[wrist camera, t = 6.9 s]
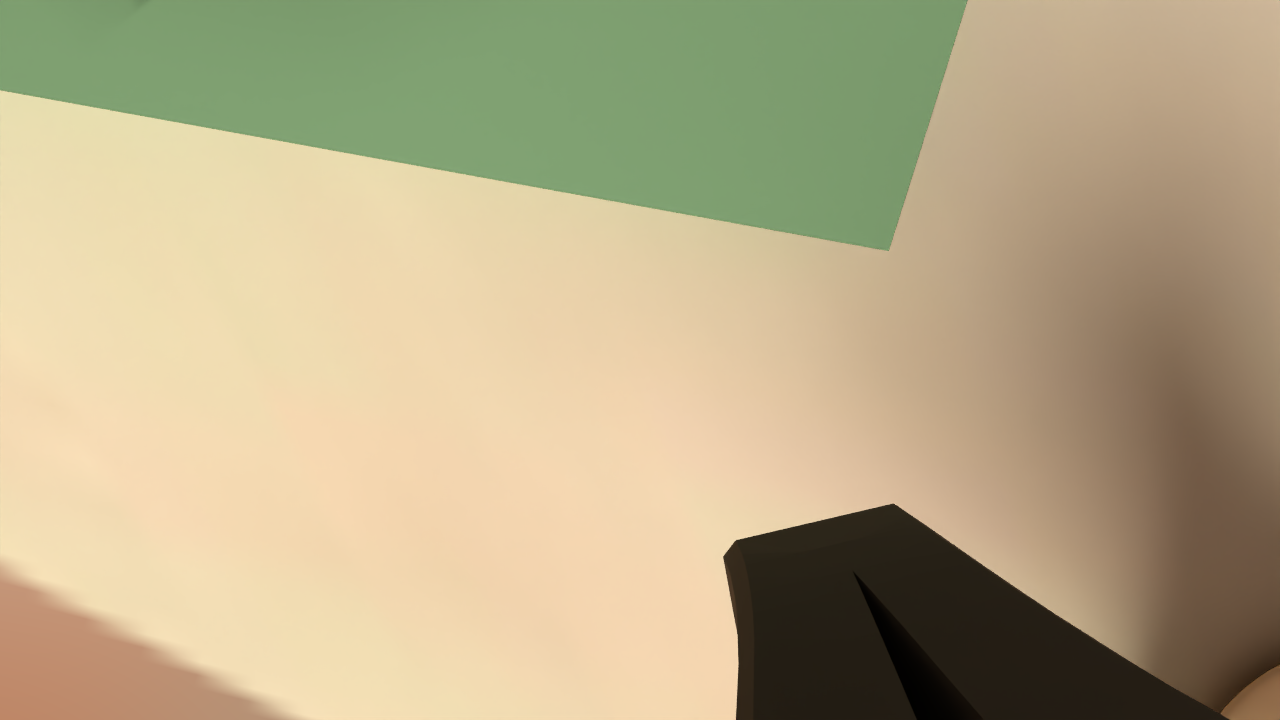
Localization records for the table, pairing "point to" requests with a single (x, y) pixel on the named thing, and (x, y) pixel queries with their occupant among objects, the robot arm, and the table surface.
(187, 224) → the table surface
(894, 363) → the table surface
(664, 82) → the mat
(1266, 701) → the plastic bottle
